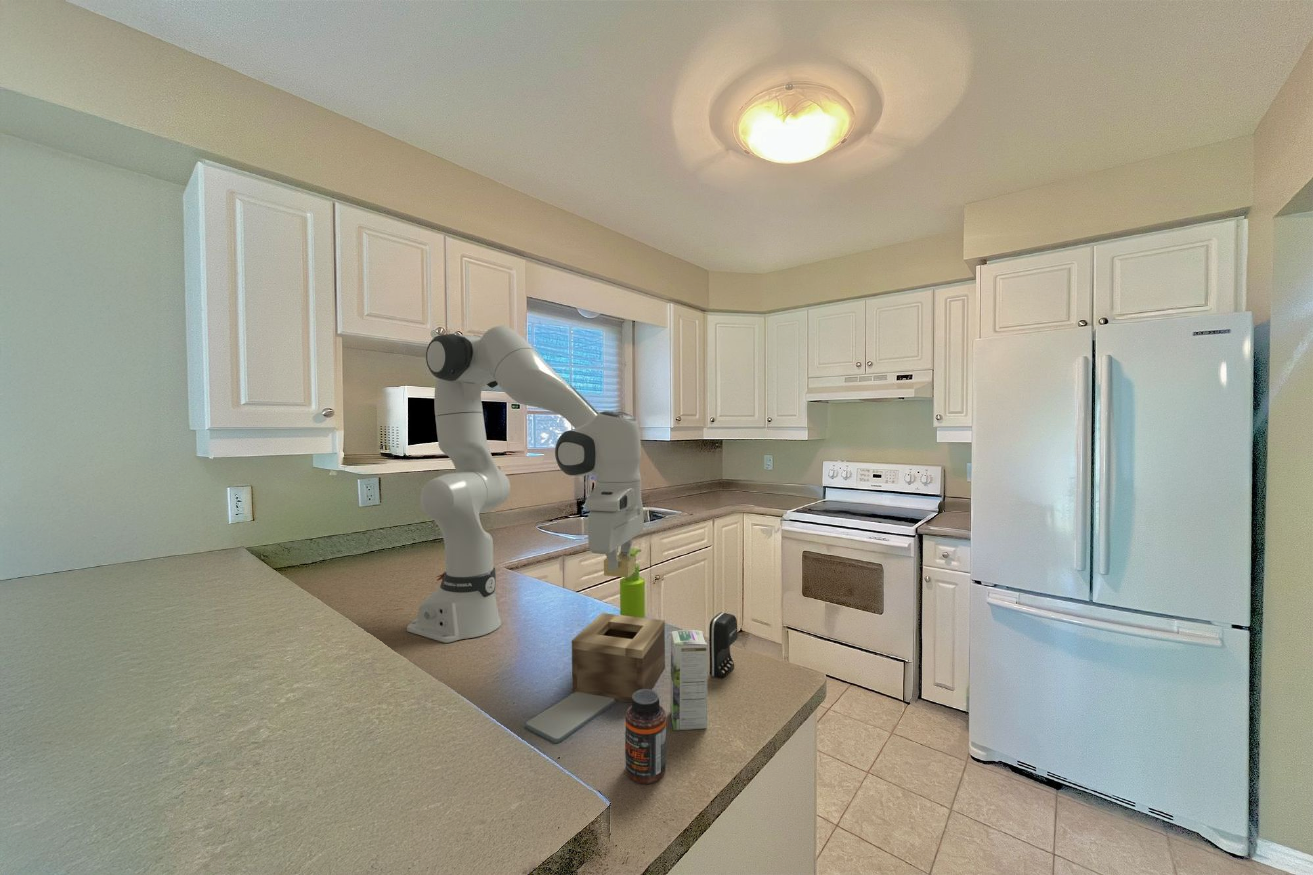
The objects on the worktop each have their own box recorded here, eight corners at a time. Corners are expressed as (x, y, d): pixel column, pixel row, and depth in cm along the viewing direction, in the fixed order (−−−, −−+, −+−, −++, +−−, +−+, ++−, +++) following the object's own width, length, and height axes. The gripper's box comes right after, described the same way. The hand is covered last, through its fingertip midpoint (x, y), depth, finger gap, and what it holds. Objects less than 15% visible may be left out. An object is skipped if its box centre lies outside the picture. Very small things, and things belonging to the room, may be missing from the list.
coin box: (572, 692, 95) (571, 640, 94) (602, 658, 108) (601, 612, 108) (642, 704, 91) (642, 650, 90) (664, 668, 104) (664, 620, 104)
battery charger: (726, 682, 98) (726, 624, 98) (708, 677, 100) (708, 620, 100) (739, 666, 104) (739, 612, 104) (722, 662, 106) (722, 609, 106)
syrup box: (669, 711, 89) (669, 630, 88) (702, 709, 89) (702, 628, 89) (673, 731, 83) (672, 644, 82) (709, 729, 83) (708, 643, 83)
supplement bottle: (617, 779, 72) (617, 701, 72) (636, 753, 78) (635, 681, 77) (656, 791, 70) (655, 711, 69) (672, 764, 75) (671, 689, 75)
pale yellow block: (604, 575, 97) (603, 560, 97) (611, 569, 101) (611, 554, 101) (628, 577, 96) (628, 562, 96) (635, 571, 100) (635, 556, 100)
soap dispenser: (650, 629, 123) (649, 548, 123) (639, 641, 117) (639, 555, 116) (627, 626, 125) (626, 546, 124) (616, 637, 119) (615, 553, 118)
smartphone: (617, 698, 92) (557, 740, 80) (617, 704, 92) (557, 746, 80) (584, 685, 97) (522, 722, 85) (584, 690, 97) (522, 728, 85)
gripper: (623, 487, 109) (623, 550, 109) (581, 502, 89) (582, 579, 90) (650, 488, 107) (651, 552, 108) (614, 503, 88) (614, 582, 88)
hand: (619, 565), depth 99 cm, fingers closed on pale yellow block, 4 cm apart
